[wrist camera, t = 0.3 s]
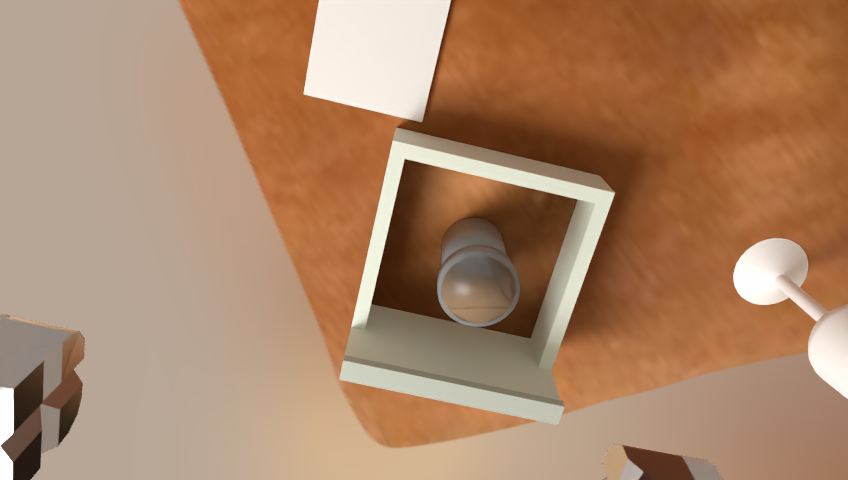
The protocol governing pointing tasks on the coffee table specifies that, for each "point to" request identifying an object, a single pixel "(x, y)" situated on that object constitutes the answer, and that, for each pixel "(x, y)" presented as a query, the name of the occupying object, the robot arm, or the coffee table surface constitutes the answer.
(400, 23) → the mat
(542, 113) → the coffee table surface
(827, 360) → the champagne flute
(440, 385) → the frame
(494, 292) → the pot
